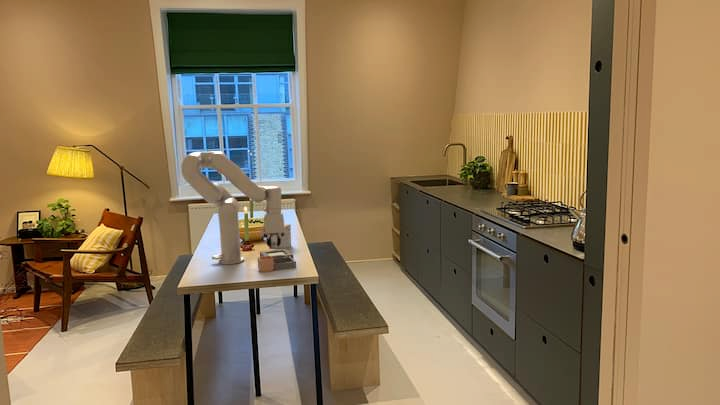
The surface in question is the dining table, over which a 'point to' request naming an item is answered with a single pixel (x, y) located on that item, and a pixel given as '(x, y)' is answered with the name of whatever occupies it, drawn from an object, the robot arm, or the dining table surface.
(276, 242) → the cell
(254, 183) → the robot arm
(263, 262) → the orange open cube box
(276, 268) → the tray
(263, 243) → the dining table surface
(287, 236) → the supplement box
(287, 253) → the box
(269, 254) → the pale green square panel
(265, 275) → the dining table surface
